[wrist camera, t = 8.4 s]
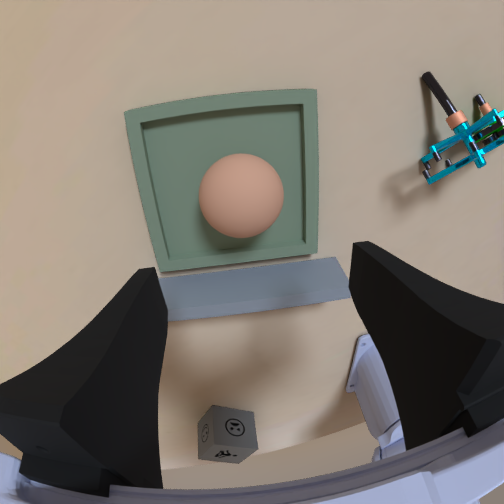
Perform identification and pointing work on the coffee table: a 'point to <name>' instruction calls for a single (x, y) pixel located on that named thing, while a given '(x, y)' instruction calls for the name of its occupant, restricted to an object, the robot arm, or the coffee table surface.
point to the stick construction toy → (463, 132)
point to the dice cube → (226, 435)
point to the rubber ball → (241, 195)
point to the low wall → (254, 289)
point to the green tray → (211, 150)
